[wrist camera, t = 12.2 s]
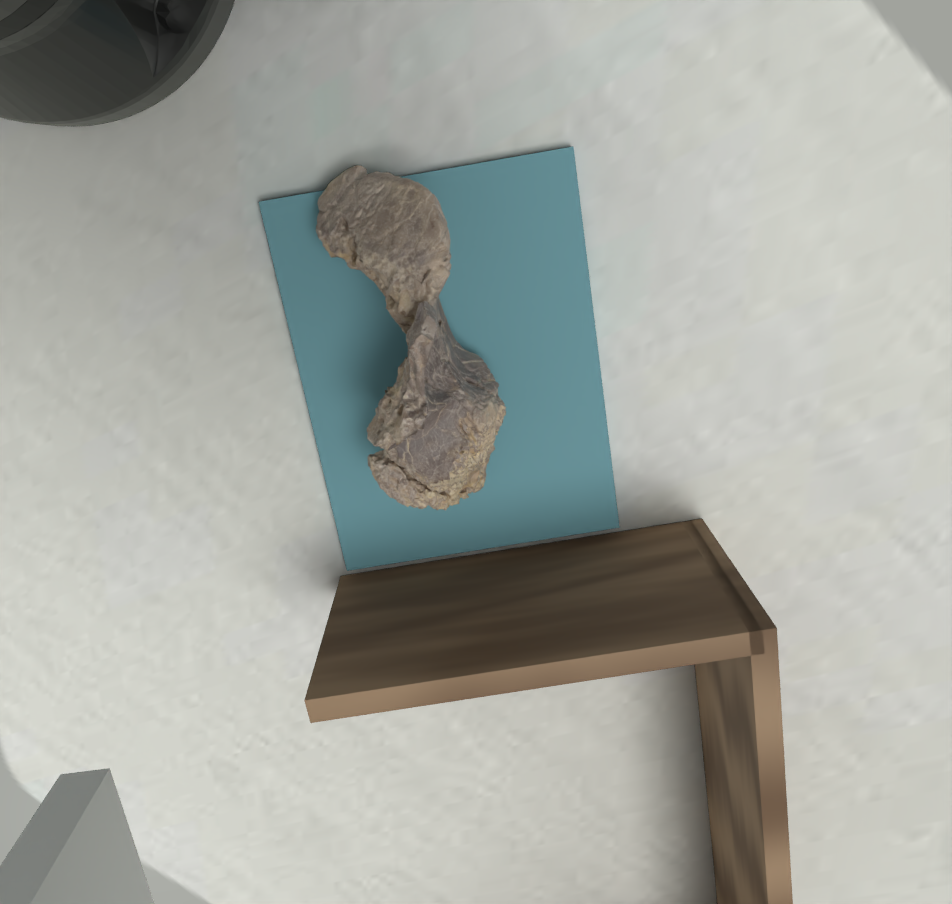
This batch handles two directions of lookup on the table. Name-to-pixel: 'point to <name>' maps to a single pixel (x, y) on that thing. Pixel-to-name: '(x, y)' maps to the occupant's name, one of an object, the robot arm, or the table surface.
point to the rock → (415, 341)
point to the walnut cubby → (585, 658)
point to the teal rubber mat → (478, 331)
